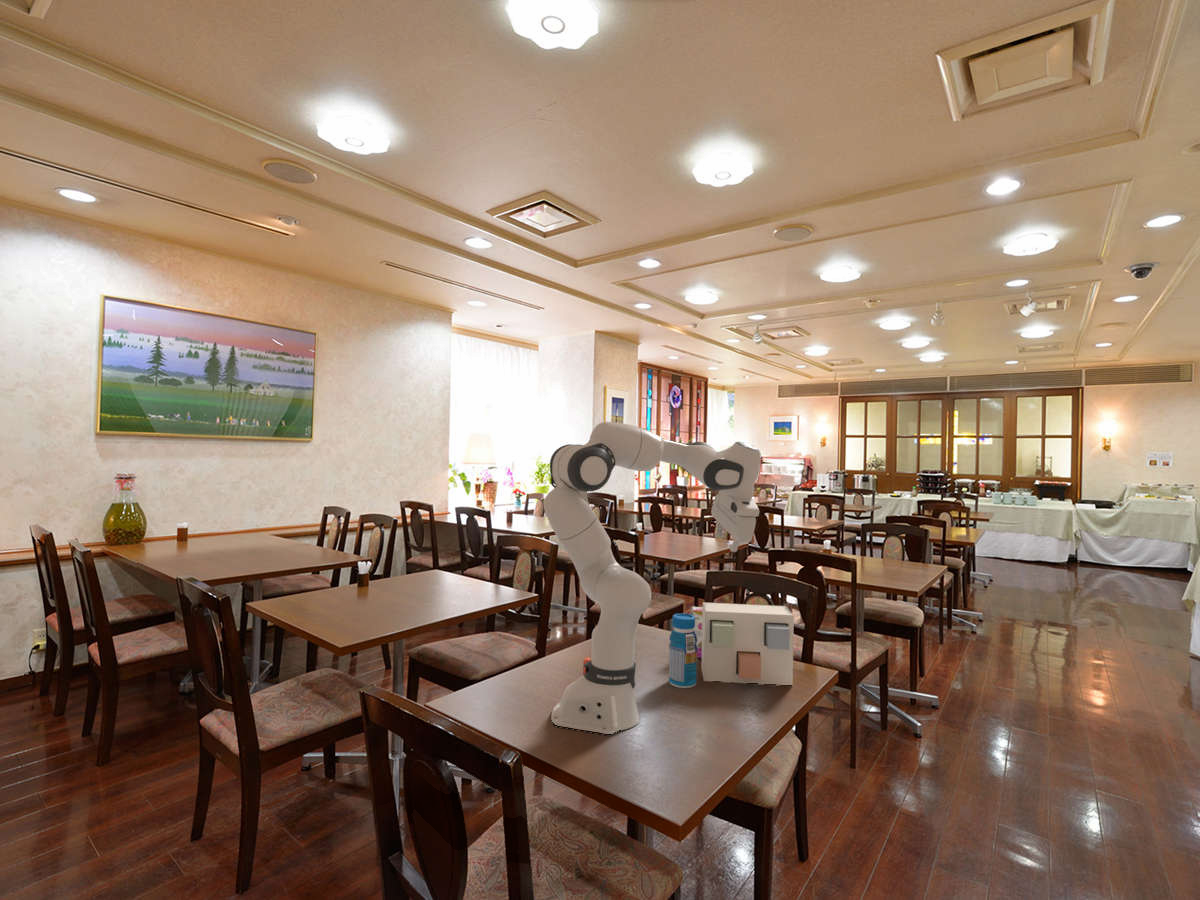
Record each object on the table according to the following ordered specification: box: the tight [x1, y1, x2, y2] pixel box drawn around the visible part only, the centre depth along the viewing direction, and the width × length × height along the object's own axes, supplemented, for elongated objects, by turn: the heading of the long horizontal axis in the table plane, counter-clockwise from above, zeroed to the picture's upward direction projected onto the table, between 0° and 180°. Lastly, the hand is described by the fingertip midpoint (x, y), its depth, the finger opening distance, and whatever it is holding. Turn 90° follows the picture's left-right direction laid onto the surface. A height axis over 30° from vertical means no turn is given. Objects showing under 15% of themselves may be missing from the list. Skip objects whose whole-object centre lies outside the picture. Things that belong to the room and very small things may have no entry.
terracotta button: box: [736, 651, 761, 679], centre depth 173 cm, size 6×6×6 cm
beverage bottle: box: [668, 613, 698, 689], centre depth 173 cm, size 8×8×20 cm
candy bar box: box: [690, 606, 703, 660], centre depth 196 cm, size 11×5×16 cm, turn 84°
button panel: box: [700, 602, 795, 686], centre depth 180 cm, size 26×10×21 cm, turn 84°
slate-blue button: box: [765, 622, 790, 650], centre depth 173 cm, size 6×6×6 cm
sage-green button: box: [711, 620, 734, 647], centre depth 174 cm, size 6×6×6 cm
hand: (725, 543), depth 168 cm, fingers open, 8 cm apart
